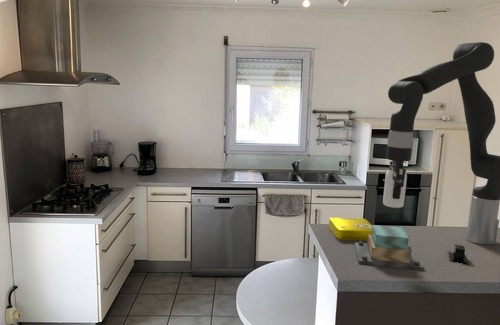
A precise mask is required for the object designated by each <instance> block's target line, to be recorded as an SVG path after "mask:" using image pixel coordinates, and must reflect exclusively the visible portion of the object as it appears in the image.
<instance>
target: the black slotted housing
mask: <svg viewBox="0 0 500 325" xmlns="http://www.w3.org/2000/svg"><path fill="white" fill-rule="evenodd" d="M465 248H466V247H465V246H464V245H462V244H461V245H460V244H459V245H458V244H454V247H453V252H452V251H448V257H449V261H450V263H456V264H461V263H462V264H463V265H466V266H469V261H468V257H467V255H466V254H465V252H466V249H465ZM465 255H466V256H465ZM466 257H467V258H466ZM467 261H468V262H467ZM457 262H458V263H457ZM462 264H461V265H462Z"/></svg>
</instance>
